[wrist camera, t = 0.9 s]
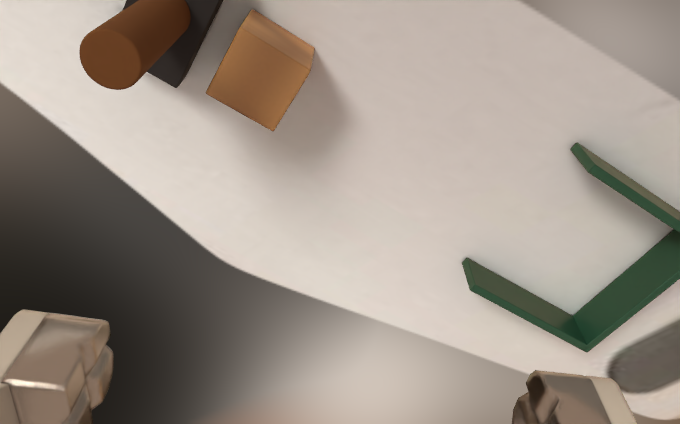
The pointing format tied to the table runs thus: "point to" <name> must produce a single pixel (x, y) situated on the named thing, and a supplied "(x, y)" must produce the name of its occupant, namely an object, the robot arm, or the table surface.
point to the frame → (617, 298)
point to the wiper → (147, 41)
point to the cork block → (262, 70)
